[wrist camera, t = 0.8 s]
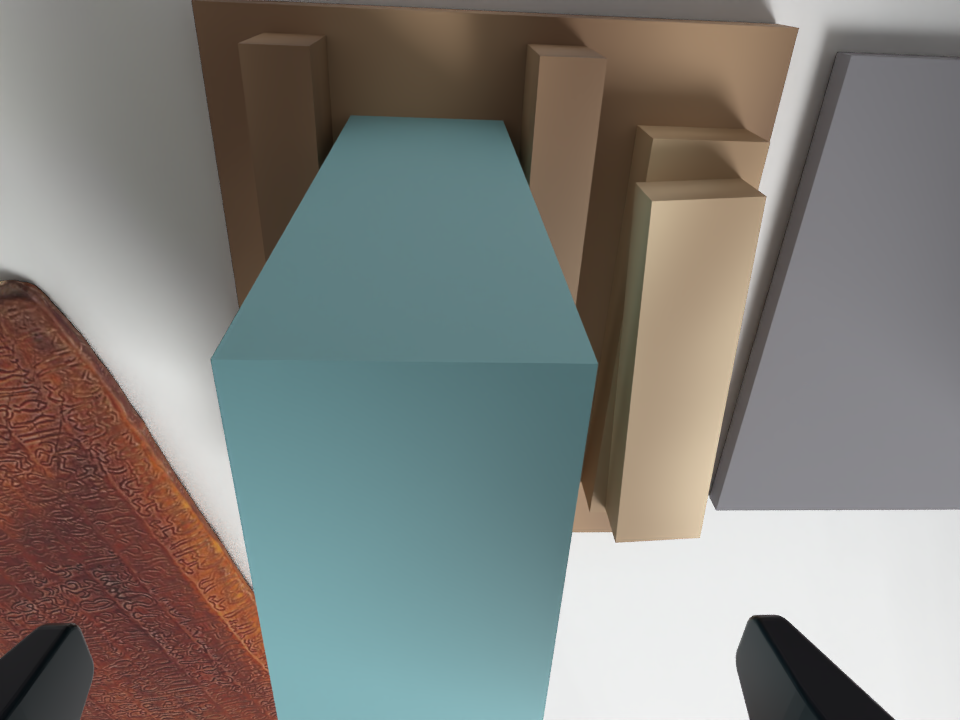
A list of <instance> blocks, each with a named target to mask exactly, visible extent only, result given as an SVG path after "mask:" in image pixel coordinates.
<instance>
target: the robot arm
mask: <svg viewBox="0 0 960 720" xmlns="http://www.w3.org/2000/svg"><path fill="white" fill-rule="evenodd" d="M736 667H737V672H738V676H739V680H740V684H741V688H742V692H743V696H744V699H745V703H746V707H747V711H748V715H749V719H750V720H895V719H894V718H893V717H892V716H891V715H889V714H888V713H887V712H886V711H885V710H884V709H883V708H882V707H881V706H880V705H879V704H878V703H876V702H875V701H874V700H873V699H872V698H871V697H870V696H869V695H868V694H867V693H866V692H865V691H863V690H862V689H861V688H860V687H859V686H858V685H857V684H856V683H855V682H854V681H853V680H852V679H850V678H849V677H848V676H847V675H846V674H845V673H844V672H843V671H842V670H841V669H840V668H839V667H837V666H836V665H835V664H834V663H833V662H832V661H831V660H830V659H829V658H828V657H827V656H826V655H824V654H823V653H822V652H821V651H820V650H819V649H818V648H817V647H816V646H815V645H814V644H812V643H811V642H810V641H809V640H808V639H807V638H806V637H805V636H804V635H803V634H802V633H801V632H799V631H798V630H797V629H796V628H795V627H794V626H793V625H792V624H791V623H790V622H789V621H787V620H786V619H785V618H783V617H781V616H779V615H754V616H752V617H751V618H749V620H748V622H747V624H746V627H745V630H744V633H743V635H742V638H741V641H740V643H739V646H738V649H737V653H736ZM93 674H94V663H93V659H92V656H91V654H90V651H89V649H88V646H87V644H86V641H85V639H84V636H83V634H82V631H81V629H80V627H79V626H78V625H76V624H75V623H47V624H43V625H41V626H39V627H38V628H36V629H35V630H33V631H32V632H31V633H30V634H29V635H27V636H26V637H25V638H24V639H23V640H21V641H20V642H19V643H18V644H17V645H15V646H14V647H13V648H12V649H11V650H9V651H8V652H7V653H6V654H5V655H3V656H2V657H1V658H0V720H80V718H81V715H82V712H83V709H84V706H85V702H86V699H87V696H88V693H89V690H90V686H91V683H92V680H93Z"/></svg>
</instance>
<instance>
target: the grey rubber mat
mask: <svg viewBox="0 0 960 720" xmlns="http://www.w3.org/2000/svg"><path fill="white" fill-rule="evenodd" d="M710 499H711V501H712V503H713V505H714V507H715V509H716V510H947V509H960V57H938V56H914V55H891V54H868V53H845V52H837V55H836V58H835V62H834V65H833V69H832V72H831V76H830V79H829V83H828V86H827V90H826V93H825V97H824V100H823V104H822V107H821V111H820V114H819V118H818V121H817V125H816V128H815V131H814V135H813V138H812V142H811V145H810V149H809V152H808V156H807V159H806V163H805V166H804V170H803V173H802V177H801V180H800V184H799V187H798V191H797V194H796V198H795V201H794V205H793V208H792V212H791V215H790V219H789V222H788V225H787V229H786V232H785V236H784V239H783V243H782V246H781V250H780V253H779V257H778V260H777V264H776V267H775V271H774V274H773V278H772V281H771V285H770V288H769V292H768V295H767V299H766V302H765V306H764V309H763V313H762V316H761V319H760V323H759V326H758V330H757V333H756V337H755V340H754V344H753V347H752V351H751V354H750V358H749V361H748V365H747V368H746V372H745V375H744V379H743V382H742V386H741V389H740V393H739V396H738V400H737V403H736V407H735V410H734V413H733V417H732V420H731V424H730V427H729V431H728V434H727V438H726V441H725V445H724V448H723V452H722V455H721V459H720V462H719V466H718V469H717V473H716V476H715V480H714V483H713V487H712V490H711V494H710Z"/></svg>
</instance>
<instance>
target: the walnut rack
mask: <svg viewBox="0 0 960 720" xmlns="http://www.w3.org/2000/svg"><path fill="white" fill-rule="evenodd" d="M192 7H193V13H194V19H195V26H196V32H197V39H198V45H199V52H200V58H201V65H202V71H203V78H204V84H205V91H206V97H207V103H208V110H209V116H210V123H211V129H212V136H213V142H214V149H215V155H216V162H217V168H218V175H219V181H220V187H221V194H222V200H223V207H224V213H225V220H226V226H227V233H228V239H229V246H230V252H231V258H232V265H233V271H234V278H235V284H236V291H237V297H238V304H239V309H240V307H241V306H242V304H243V302H244V300H245V299H246V297H247V295H248V293H249V292H250V290H251V288H252V286H253V285H254V283H255V281H256V279H257V278H258V276H259V274H260V272H261V271H262V269H263V267H264V265H265V264H266V262H267V260H268V258H269V257H270V255H271V253H272V252H273V250H274V248H275V246H276V245H277V243H278V241H279V239H280V238H281V236H282V234H283V232H284V231H285V229H286V227H287V225H288V224H289V222H290V220H291V218H292V217H293V215H294V213H295V211H296V210H297V208H298V206H299V204H300V203H301V201H302V199H303V198H304V196H305V194H306V192H307V191H308V189H309V187H310V185H311V184H312V182H313V180H314V178H315V177H316V175H317V173H318V171H319V170H320V168H321V166H322V164H323V163H324V161H325V159H326V157H327V156H328V154H329V152H330V150H331V149H332V147H333V145H334V144H335V142H336V140H337V138H338V137H339V135H340V133H341V131H342V130H343V128H344V126H345V124H346V123H347V121H348V119H349V117H350V116H351V115H357V116H385V117H414V118H443V119H472V120H500V121H503V122H504V124H505V127H506V129H507V132H508V134H509V137H510V139H511V142H512V145H513V147H514V150H515V152H516V155H517V157H518V160H519V162H520V165H521V168H522V170H523V173H524V175H525V178H526V180H527V183H528V185H529V188H530V191H531V193H532V196H533V198H534V201H535V203H536V206H537V208H538V211H539V214H540V216H541V219H542V221H543V224H544V226H545V229H546V231H547V234H548V237H549V239H550V242H551V244H552V247H553V249H554V252H555V254H556V257H557V260H558V262H559V265H560V267H561V270H562V272H563V275H564V278H565V280H566V283H567V285H568V288H569V290H570V293H571V295H572V298H573V301H574V303H575V306H576V308H577V311H578V313H579V316H580V318H581V321H582V324H583V326H584V329H585V331H586V334H587V336H588V339H589V341H590V344H591V347H592V349H593V352H594V354H595V357H596V359H597V362H598V368H597V375H596V381H595V388H594V394H593V401H592V407H591V414H590V420H589V427H588V433H587V439H586V446H585V452H584V459H583V465H582V472H581V478H580V485H579V491H578V497H577V504H576V510H575V517H574V523H573V530H572V532H612V529H611V526H610V523H609V519H608V516H607V513H606V512H589V508H588V504H587V500H586V497H585V493H584V489H583V486H582V476H583V469H584V463H585V457H586V450H587V444H588V438H589V431H590V425H591V418H592V412H593V406H594V399H595V393H596V386H597V380H598V374H599V367H600V361H601V355H602V348H603V342H604V335H605V329H606V323H607V316H608V310H609V303H610V297H611V291H612V284H613V278H614V272H615V265H616V259H617V252H618V246H619V240H620V233H621V227H622V221H623V214H624V208H625V201H626V195H627V189H628V182H629V176H630V169H631V163H632V157H633V150H634V144H635V138H636V131H637V125H644V126H673V127H701V128H730V129H747V130H749V131H750V132H752V133H754V134H756V135H758V136H759V137H761V138H763V139H765V140H767V141H768V142H770V138H771V135H772V131H773V127H774V123H775V119H776V115H777V111H778V107H779V103H780V99H781V95H782V92H783V88H784V84H785V80H786V76H787V72H788V68H789V64H790V60H791V56H792V53H793V49H794V45H795V41H796V37H797V33H798V29H799V28H796V27H791V26H786V25H780V24H767V23H745V22H723V21H702V20H680V19H658V18H636V17H614V16H592V15H570V14H548V13H526V12H504V11H482V10H460V9H438V8H416V7H394V6H372V5H350V4H328V3H306V2H284V1H262V0H192Z"/></svg>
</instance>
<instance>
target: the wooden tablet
mask: <svg viewBox="0 0 960 720" xmlns="http://www.w3.org/2000/svg"><path fill="white" fill-rule="evenodd" d="M47 623H75V624H76V625H78V626H79V627H80V629H81V631H82V634H83V636H84V639H85V641H86V644H87V646H88V649H89V651H90V654H91V656H92V659H93V663H94V674H93V680H92V683H91V686H90V690H89V693H88V696H87V699H86V702H85V706H84V709H83V712H82V715H81V718H80V720H278V718H277V712H276V707H275V701H274V696H273V691H272V685H271V680H270V675H269V669H268V664H267V659H266V653H265V648H264V643H263V637H262V632H261V627H260V621H259V616H258V611H257V605H256V600H255V595H254V592H253V591H252V590H251V588H250V587H249V586H248V585H247V583H246V582H245V580H244V578H243V576H242V575H241V573H240V572H239V570H238V568H237V567H236V565H235V564H234V562H233V561H232V559H231V558H230V556H229V554H228V552H227V550H226V549H225V547H224V545H223V544H222V543H221V542H220V540H219V539H218V538H217V536H216V535H215V533H214V532H213V530H212V529H211V527H210V526H209V525H208V523H207V522H206V520H205V518H204V516H203V515H202V514H201V512H200V511H199V510H198V508H197V507H196V505H195V503H194V501H193V500H192V499H191V497H190V496H189V495H188V493H187V491H186V490H185V488H184V487H183V485H182V484H181V482H180V481H179V480H178V478H177V477H176V475H175V473H174V472H173V470H172V468H171V466H170V464H169V463H168V461H167V460H166V458H165V457H164V455H163V454H162V452H161V450H160V449H159V447H158V446H157V444H156V443H155V441H154V439H153V438H152V436H151V434H150V432H149V431H148V429H147V427H146V425H145V423H144V421H143V420H142V419H141V418H140V417H139V415H138V414H137V412H136V411H135V410H134V408H133V407H132V406H131V404H130V402H129V401H128V399H127V398H126V396H125V394H124V392H123V391H122V389H121V388H120V387H119V385H118V384H117V382H116V381H115V379H114V378H113V377H112V375H111V374H110V373H109V371H108V370H107V369H106V367H105V366H104V365H103V363H102V362H101V361H100V360H99V359H98V358H97V356H96V355H95V353H94V351H93V350H92V348H91V347H90V346H89V344H88V343H87V342H86V340H85V339H84V337H83V336H82V335H81V334H80V333H79V332H78V331H77V330H76V329H75V328H74V327H73V325H72V324H71V323H70V321H69V320H68V319H67V318H66V317H65V316H64V315H63V314H62V313H61V312H60V311H59V309H58V308H57V307H56V306H55V305H54V304H53V303H52V302H51V301H50V299H49V298H48V296H46V295H45V294H44V293H43V292H42V291H41V290H40V289H39V288H37V287H36V286H35V285H33V284H30V283H28V282H20V281H16V280H7V281H0V658H1V657H2V656H3V655H5V654H6V653H7V652H8V651H9V650H11V649H12V648H13V647H14V646H15V645H17V644H18V643H19V642H20V641H21V640H23V639H24V638H25V637H26V636H27V635H29V634H30V633H31V632H32V631H33V630H35V629H36V628H38V627H39V626H41V625H43V624H47Z"/></svg>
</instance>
